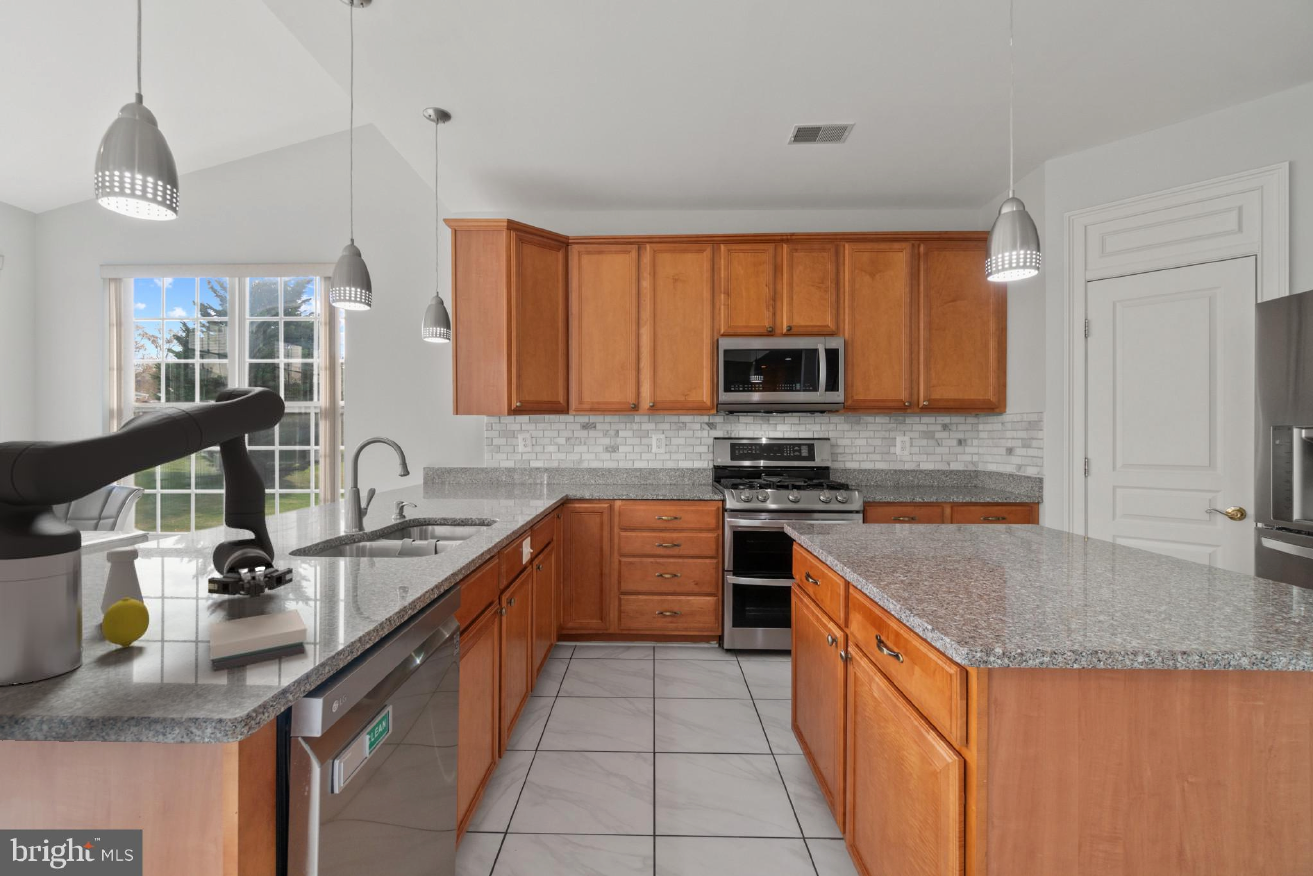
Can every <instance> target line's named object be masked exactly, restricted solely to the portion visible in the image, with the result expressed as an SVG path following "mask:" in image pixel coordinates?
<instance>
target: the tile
mask: <svg viewBox="0 0 1313 876" xmlns="http://www.w3.org/2000/svg"><path fill="white" fill-rule="evenodd" d="M307 632H308V631H307V626H306V625H305V622H304V620H303V618H302V616H301V614H300V612H299V610H298V609H290V610H284V611H279V612H274V613H266V614H261V615H254V616H249V617H242V618H236V619H231V620H224V621H218V622H212V623H209V646H210V647H209V653H210V657H209V658H210V660H213V662H215V661H219V660H224V659H229V658H234V657H239V656H244V655H249V654H254V653H259V652H264V651H269V650H274V649H279V648H284V647H289V646H295V645H300V644H303V645H304V642H307V640H308V639H307V637H308V636H307Z"/></svg>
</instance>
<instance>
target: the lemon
mask: <svg viewBox="0 0 1313 876" xmlns="http://www.w3.org/2000/svg"><path fill="white" fill-rule="evenodd" d="M149 614H150V613H149V609H148V607H147V606H146V605H145V603H144V604H143V603H142V602H140V601H138V600H134V599H130V598H129V597H127V598H123V599H122V600H121V601H119V602H117V603H115V604H113V605H112V606H111V607H110V608H109V609H108V610H107V611H106V613H105V615H104V614H103V619H102V623H101V631H102V634H103V637H104V639H106V640H107V641H108V642H109V643H110V644H114V645H119V646H120V647H122V648H128V647H130V646H131V645H132V644H133V643H134V642H136V641H138V640H139V639H141V638H142V637H143V636H144V635H145V633H146V632H147V630H148V628H149V625H150V615H149Z"/></svg>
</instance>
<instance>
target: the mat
mask: <svg viewBox="0 0 1313 876" xmlns="http://www.w3.org/2000/svg"><path fill="white" fill-rule="evenodd" d="M304 648H305V647H304V643H303V644H300V645H295V646H289V647H284V648H279V649H274V650H269V651H264V652H259V653H254V654H249V655H244V656H239V657H234V658H229V659H224V660H219V661H214V672H216V671H222V670H226V669H227V670H228V669H232V668H236V667H242V666H245V665H247V666H248V665H251V663H252V664H256V663H262V662H266V661H271V660H275V659H281V658H284V657H283V656H286V657H290V655H291V656H294V655H293V654H295V655H300V654H303V653H305V649H304ZM299 653H300V654H299ZM261 661H262V662H261ZM241 665H242V666H241Z"/></svg>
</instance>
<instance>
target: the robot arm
mask: <svg viewBox="0 0 1313 876" xmlns="http://www.w3.org/2000/svg"><path fill="white" fill-rule="evenodd" d="M285 411H286V404H285V401H284V399H283V398H282V396H281V395H280V393H277V392H276V391H274V390H273V389H270V388H267V387H261V386H258V387H257V386H256V387H255V386H247V387H246V386H244V387H242V386H240V387H239V386H236V387H235V386H234V387H226V388H224V389H222V390H221V391H219V392H218V394H217V395H216V397H215V400H214V402H201V403H199V402H198V403H190V404H182V405H174V406H173V405H172V406H167V407H164V408H161V409H157V410H152V411H149V412H144V413H142V414H139V415H136V416H134V417H132V418H130V419H129V420H128V421H126V422H125V423H124V424H123V425H122V426H121V427H120V428H119V429H118V430H116V431H115V430H114V431H113V432H110V433H107V434H101V435H97V436H92V437H86V438H79V439H78V438H77V439H71V440H9V441H3V442H0V686H7V685H6V684H14V683H22V684H27V683H31V682H32V681H33V682H37V681H41V680H42V681H43V680H46V679H49V678H53V677H56V676H60V675H62V674H65V673H67V672H71V671H73V670H75V669H76V668H79V667H80V666H81V665H82V664H83V652H84V648H83V647H84V646H83V565H82V563H83V559H82V558H83V553H82V552H83V548H82V547H83V546H82V545H83V544H82V543H83V542H82V541H83V540H82V532H81V531H80V530H79V529H78V528H77V527H75V526H73V525H70V524H69V523H67V522H64V521H63V520H61V519H60V518H59V517H58V516H57V514H56V513H55V510H54V506H57V505H58V506H59V505H65V504H70V503H72V502H75V501H78V500H80V499H82V498H85V497H87V496H89V495H91V494H93V493H95V492H97V491H100V490H101V489H103V488H106V487H107V486H110V485H111V484H113V483H116V482H118V481H119V480H123V479H124V478H126V477H129V476H131V475H133V474H137V473H141V472H144V471H148V470H150V469H153V468H157V467H159V466H162V465H166V464H168V463H171V462H174V461H177V460H180V459H183V458H186V457H189V456H192V455H194V454H196V453H198V452H200V451H203V450H207V449H208V448H211V447H214V446H217V445H219V451H220V457H221V462H222V467H223V476H224V491H225V493H224V524H225V526H226V527H227V528H230V529H236V530H243V531H249V532H251V533H252V534H253V535H254V537H253V538H243V539H230V540H224V541H222V542H221V543H219V544H218V545H216V547H215V548H214V551H213V553H212V564H213V566H214V570H216V572H217V573H218V574H219V575H221V577H214V576H212V577H209V578H208V579H207V586H208V587H207V593H208V594H214V595H224V596H225V595H227V596H237V595H238V596H239V595H240V596H242V597H243V596H244V597H247V596H249V599H250V598H251V599H252V598H253V599H254V598H258V597H261V594H265V593H266V589H267V590H268V591H273V590H276V589H278V588H280V587H283V586H285V585H288V584H290V583H293V579H294V578H293V577H294V573H293V571H294V570H293V568H292V567H287V568H284V569H280V570H279V569H278V568H275V566H274V563H273V562H274V560H275V551H274V550H275V549H274V546H273V543H272V541H271V538H270V535H269V532H268V527H267V522H266V521H267V520H266V487H265V483H264V480H263V478H262V476H261V474H260V472H259V470H258V468H257V467H256V465H255V464H254V462H253V460H252V458H251V456H250V454H249V452H248V449H247V445H246V444H247V443H246V435H248V434H253V433H257V432H261V431H263V432H264V431H267V430H270V429H272V428H275V427H276V426H277V425H278V424H279V423H280V422H281V421H282V419H283V418H284V414H285V413H286V412H285ZM4 684H5V685H4ZM14 685H15V684H14Z"/></svg>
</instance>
